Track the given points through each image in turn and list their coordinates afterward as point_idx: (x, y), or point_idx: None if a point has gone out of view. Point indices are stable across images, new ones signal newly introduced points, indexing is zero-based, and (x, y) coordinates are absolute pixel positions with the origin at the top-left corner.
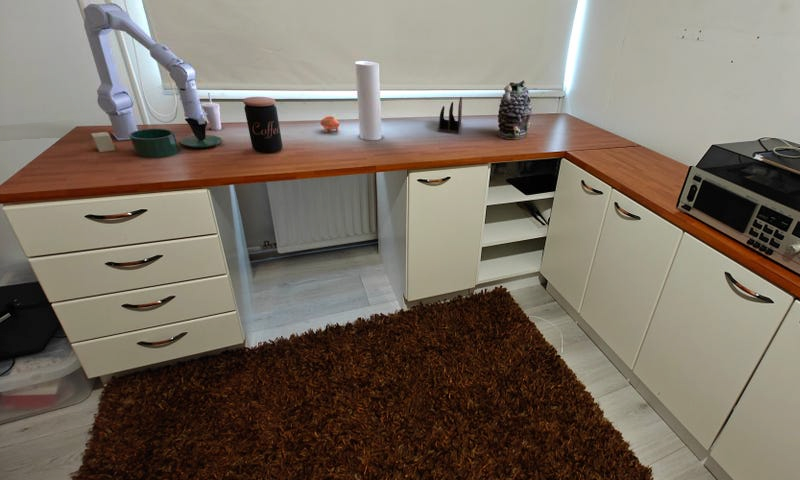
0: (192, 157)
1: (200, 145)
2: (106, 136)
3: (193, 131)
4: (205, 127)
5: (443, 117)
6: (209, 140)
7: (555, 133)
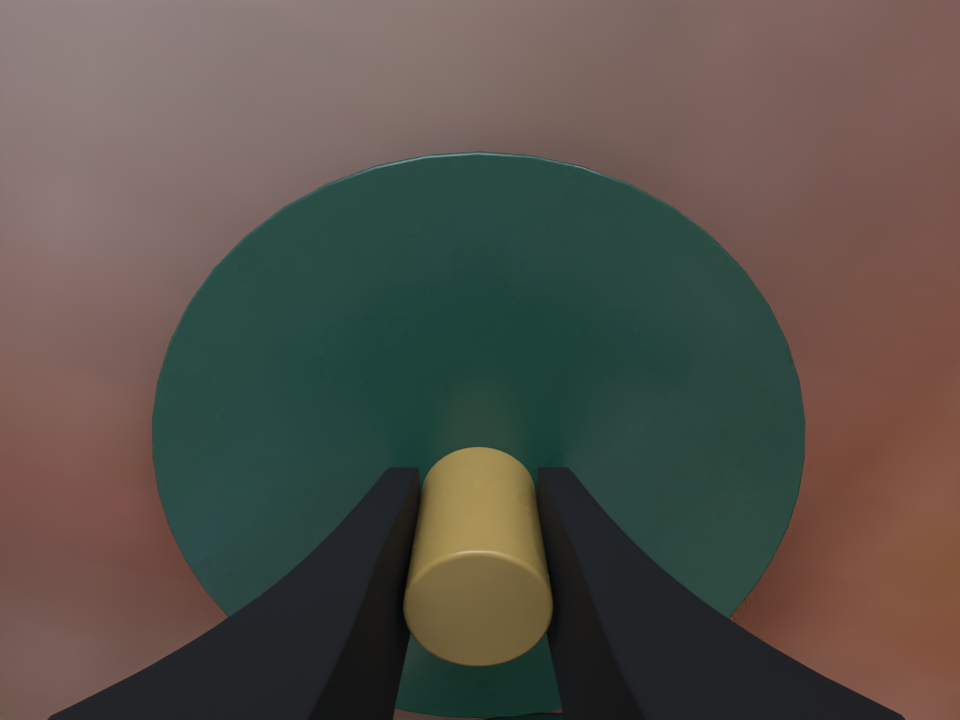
0: (920, 673)
1: (737, 573)
2: None
3: (400, 676)
4: (749, 640)
5: None
6: (548, 391)
7: None
